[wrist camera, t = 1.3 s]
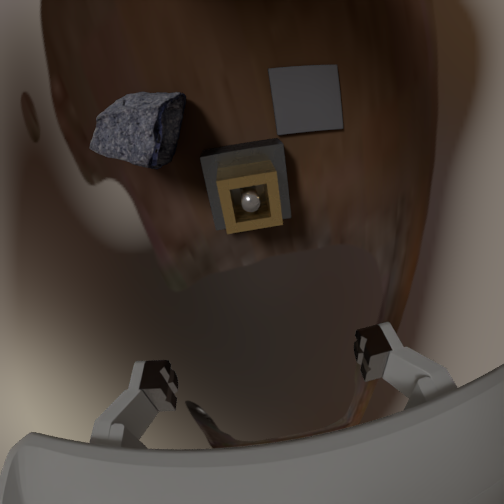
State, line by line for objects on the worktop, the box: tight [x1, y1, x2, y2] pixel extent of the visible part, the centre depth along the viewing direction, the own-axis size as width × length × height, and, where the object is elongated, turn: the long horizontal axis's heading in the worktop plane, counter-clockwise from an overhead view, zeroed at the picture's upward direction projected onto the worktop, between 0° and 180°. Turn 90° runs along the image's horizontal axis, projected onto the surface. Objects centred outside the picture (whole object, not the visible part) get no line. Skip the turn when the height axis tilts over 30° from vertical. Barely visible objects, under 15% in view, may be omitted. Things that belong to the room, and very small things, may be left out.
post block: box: [200, 138, 291, 230], centre depth 36 cm, size 10×10×9 cm
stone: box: [90, 92, 186, 169], centre depth 31 cm, size 12×10×10 cm
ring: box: [216, 160, 283, 234], centre depth 34 cm, size 6×6×5 cm
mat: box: [268, 65, 343, 135], centre depth 34 cm, size 9×9×1 cm
